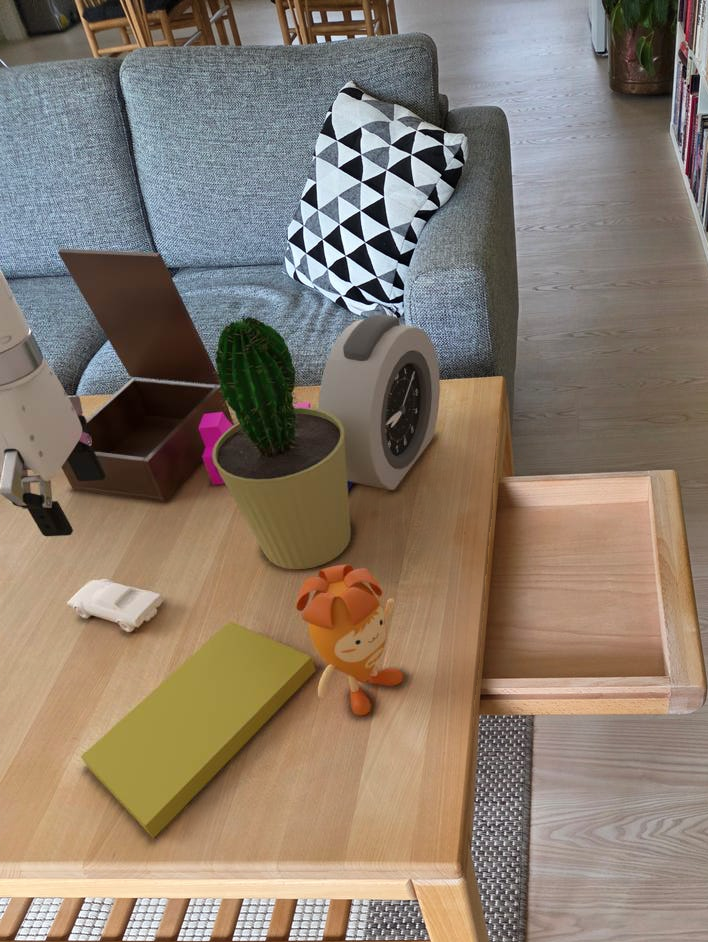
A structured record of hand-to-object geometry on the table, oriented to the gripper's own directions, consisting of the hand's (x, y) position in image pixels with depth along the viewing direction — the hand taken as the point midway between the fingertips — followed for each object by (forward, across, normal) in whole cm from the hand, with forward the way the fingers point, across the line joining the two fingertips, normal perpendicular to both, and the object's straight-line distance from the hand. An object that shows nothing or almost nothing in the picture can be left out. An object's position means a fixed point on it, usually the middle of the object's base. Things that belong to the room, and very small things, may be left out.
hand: (76, 505), depth 94 cm
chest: (+15, -33, -7) cm, 37 cm away
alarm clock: (+16, -29, +28) cm, 43 cm away
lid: (-2, -40, -5) cm, 40 cm away
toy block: (+15, -29, +11) cm, 34 cm away
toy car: (+16, 0, -1) cm, 16 cm away
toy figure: (+16, +13, +31) cm, 37 cm away
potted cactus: (+16, -12, +20) cm, 28 cm away
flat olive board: (+16, +18, +14) cm, 28 cm away
